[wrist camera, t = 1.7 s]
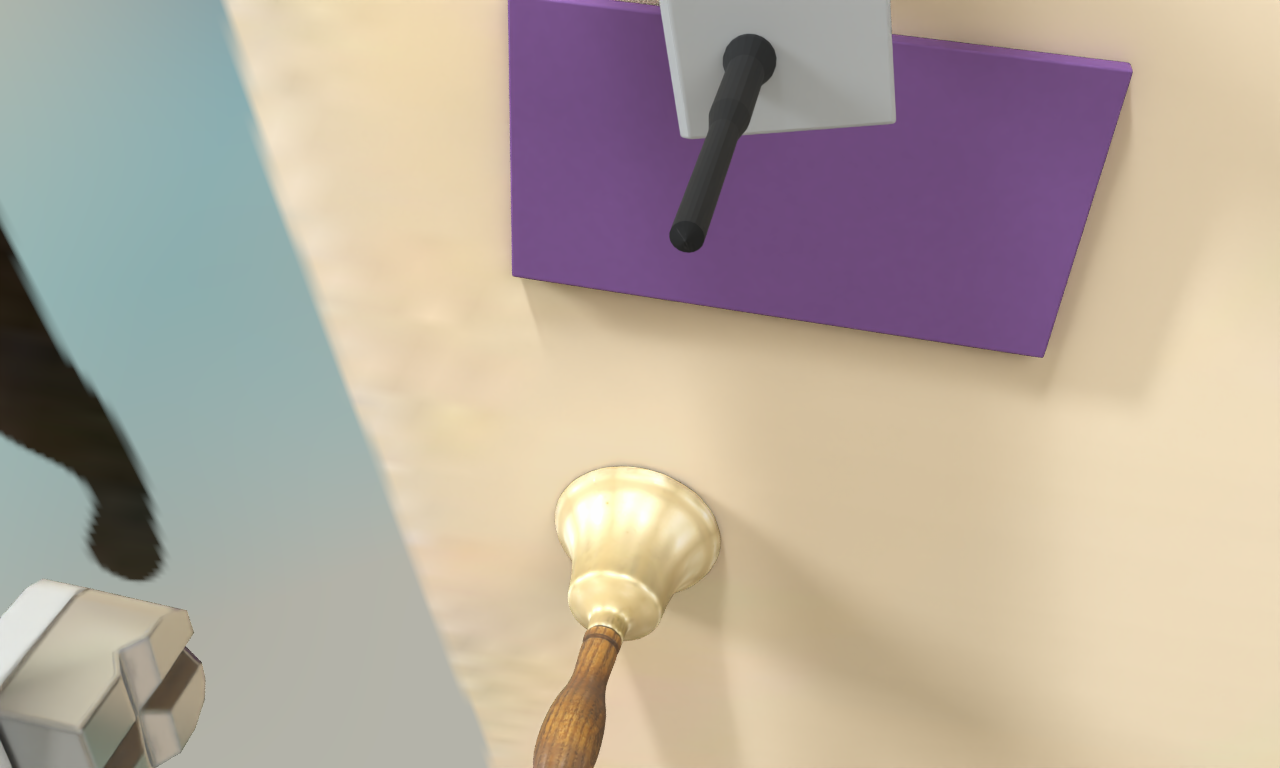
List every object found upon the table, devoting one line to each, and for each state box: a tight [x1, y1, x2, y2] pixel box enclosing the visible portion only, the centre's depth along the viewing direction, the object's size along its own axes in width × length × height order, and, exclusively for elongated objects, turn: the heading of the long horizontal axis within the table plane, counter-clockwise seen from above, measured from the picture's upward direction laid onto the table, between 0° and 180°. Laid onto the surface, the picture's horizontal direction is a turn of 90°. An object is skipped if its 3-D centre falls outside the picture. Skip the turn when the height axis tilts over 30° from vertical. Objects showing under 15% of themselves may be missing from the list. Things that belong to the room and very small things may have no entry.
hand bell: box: [533, 466, 721, 768], centre depth 52 cm, size 8×8×16 cm
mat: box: [508, 0, 1133, 358], centre depth 46 cm, size 12×22×1 cm, turn 87°
